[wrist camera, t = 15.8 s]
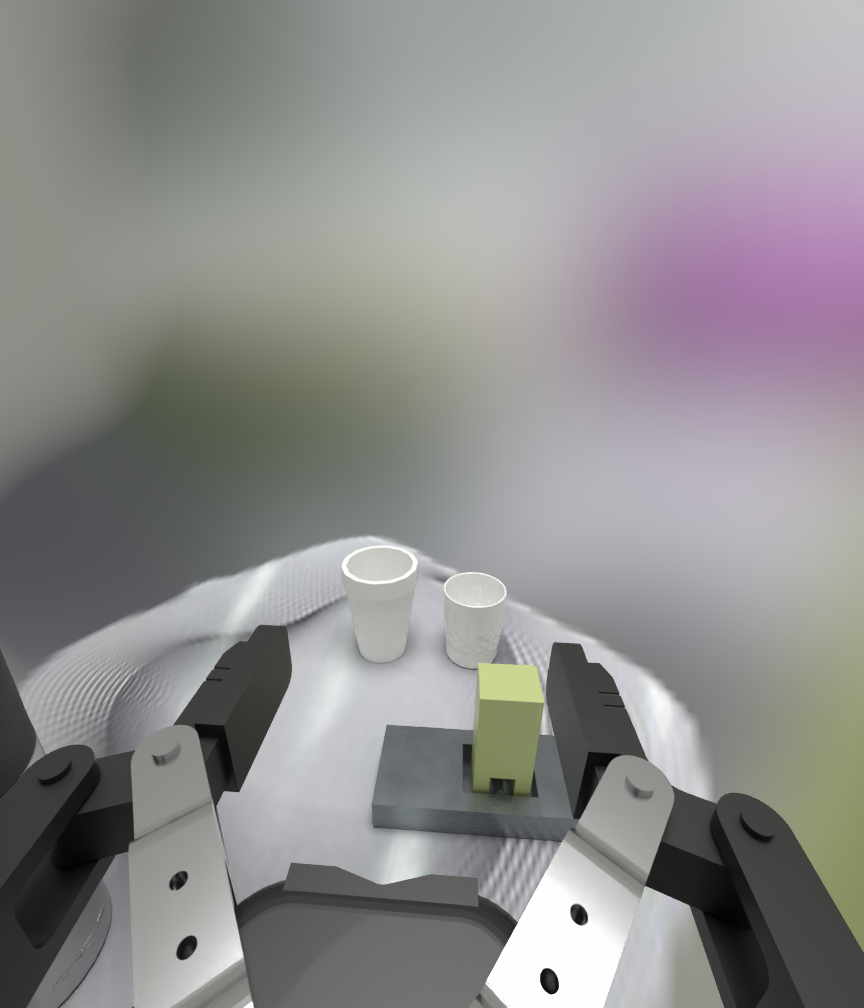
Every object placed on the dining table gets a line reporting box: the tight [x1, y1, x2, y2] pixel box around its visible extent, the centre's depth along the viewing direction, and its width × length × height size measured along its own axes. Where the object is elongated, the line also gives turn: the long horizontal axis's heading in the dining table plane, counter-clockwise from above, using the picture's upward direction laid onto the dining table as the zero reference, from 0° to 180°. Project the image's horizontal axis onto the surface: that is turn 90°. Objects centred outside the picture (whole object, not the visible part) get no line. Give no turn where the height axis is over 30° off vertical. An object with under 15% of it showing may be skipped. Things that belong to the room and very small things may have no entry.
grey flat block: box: [372, 725, 580, 841], centre depth 41 cm, size 22×8×3 cm, turn 86°
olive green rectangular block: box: [471, 663, 544, 797], centre depth 39 cm, size 5×4×13 cm
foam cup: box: [341, 545, 418, 663], centre depth 58 cm, size 10×9×13 cm
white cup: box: [444, 572, 507, 669], centre depth 58 cm, size 8×8×10 cm
